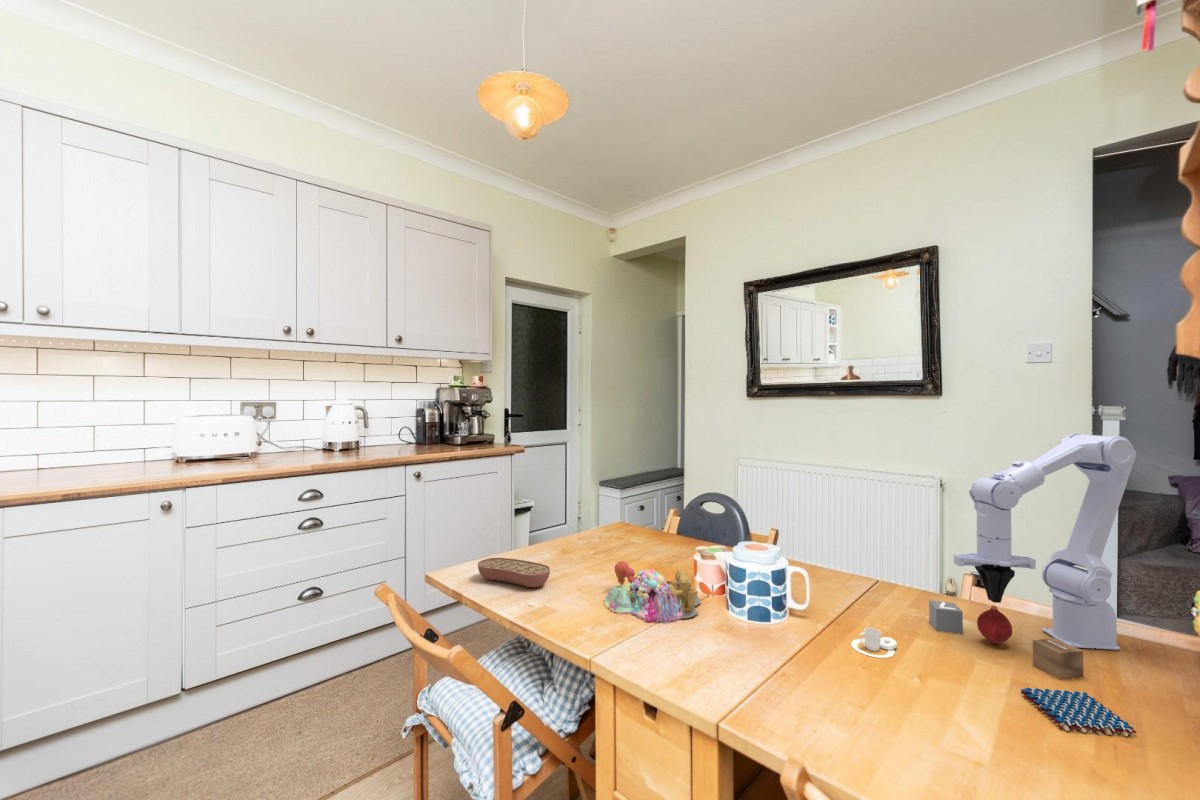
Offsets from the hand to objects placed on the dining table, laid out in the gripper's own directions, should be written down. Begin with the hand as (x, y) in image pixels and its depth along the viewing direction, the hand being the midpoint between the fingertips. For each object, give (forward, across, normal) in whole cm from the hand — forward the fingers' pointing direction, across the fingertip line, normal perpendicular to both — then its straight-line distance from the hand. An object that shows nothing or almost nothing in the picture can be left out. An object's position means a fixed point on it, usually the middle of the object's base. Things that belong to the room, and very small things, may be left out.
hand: (994, 600), depth 105 cm
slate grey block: (+9, -6, +7) cm, 13 cm away
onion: (+9, 0, 0) cm, 9 cm away
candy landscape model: (+10, -72, +13) cm, 74 cm away
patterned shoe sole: (+10, -112, +23) cm, 114 cm away
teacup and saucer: (+10, -24, -7) cm, 27 cm away
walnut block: (+9, +5, -10) cm, 14 cm away
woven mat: (+10, -2, -24) cm, 26 cm away
